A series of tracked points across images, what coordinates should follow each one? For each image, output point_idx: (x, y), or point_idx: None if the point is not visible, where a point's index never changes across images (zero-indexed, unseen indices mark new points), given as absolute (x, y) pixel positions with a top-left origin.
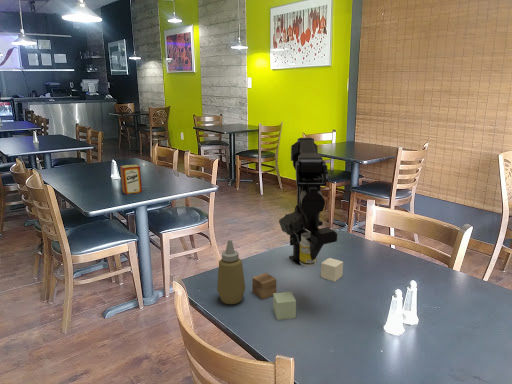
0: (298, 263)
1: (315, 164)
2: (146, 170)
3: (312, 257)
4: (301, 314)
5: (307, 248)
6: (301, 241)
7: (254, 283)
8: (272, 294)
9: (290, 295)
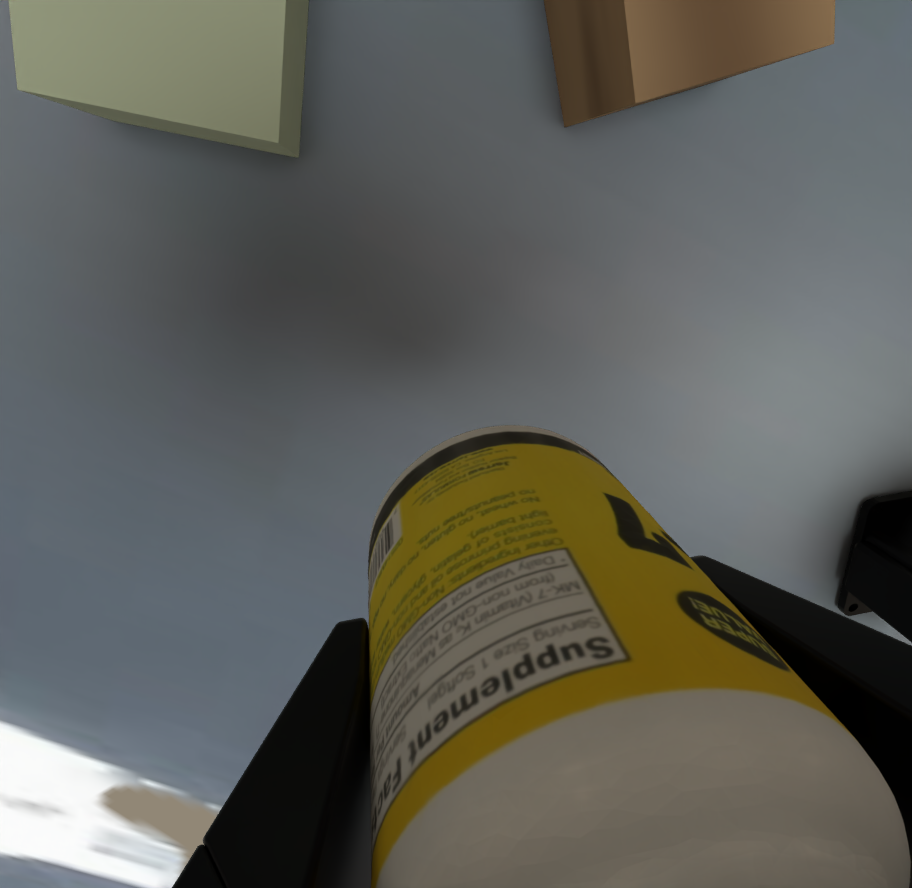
0: (871, 505)
1: None
2: None
3: (315, 667)
4: (163, 202)
5: (402, 774)
6: (790, 821)
7: None
8: (559, 72)
9: (178, 83)
